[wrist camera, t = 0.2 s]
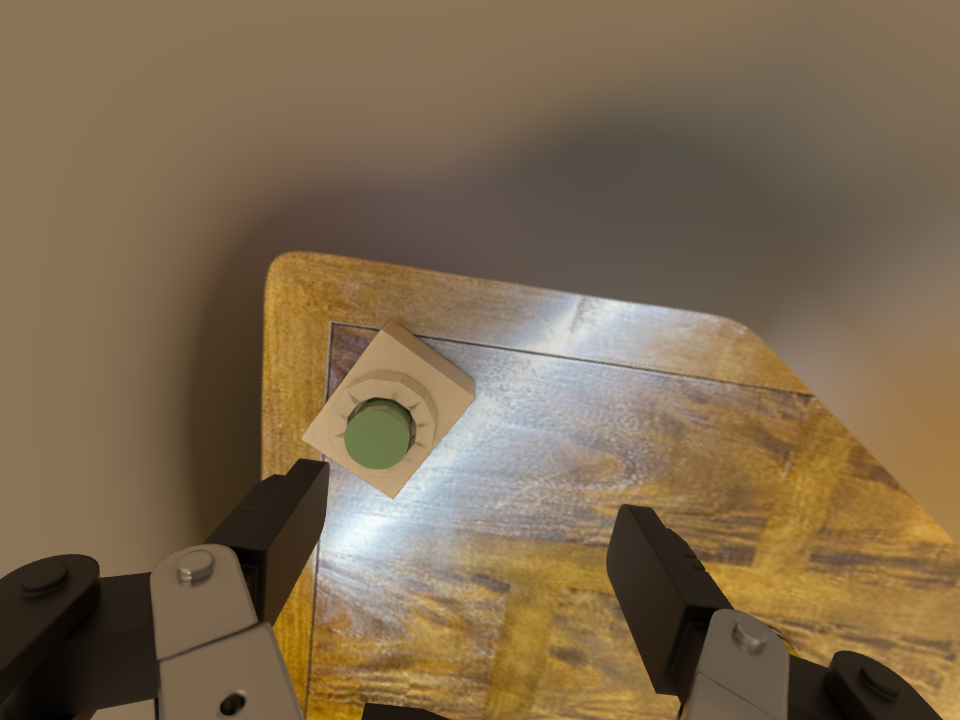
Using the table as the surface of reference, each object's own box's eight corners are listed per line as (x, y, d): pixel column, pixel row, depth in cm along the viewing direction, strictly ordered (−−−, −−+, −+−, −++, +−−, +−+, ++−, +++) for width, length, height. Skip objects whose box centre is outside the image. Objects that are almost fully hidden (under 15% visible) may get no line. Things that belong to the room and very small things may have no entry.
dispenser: (391, 318, 33) (374, 334, 27) (475, 380, 35) (476, 408, 29) (319, 417, 35) (288, 451, 29) (401, 472, 37) (387, 515, 31)
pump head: (374, 387, 29) (367, 398, 27) (424, 422, 29) (421, 435, 28) (340, 432, 30) (331, 446, 28) (390, 465, 30) (384, 481, 28)
